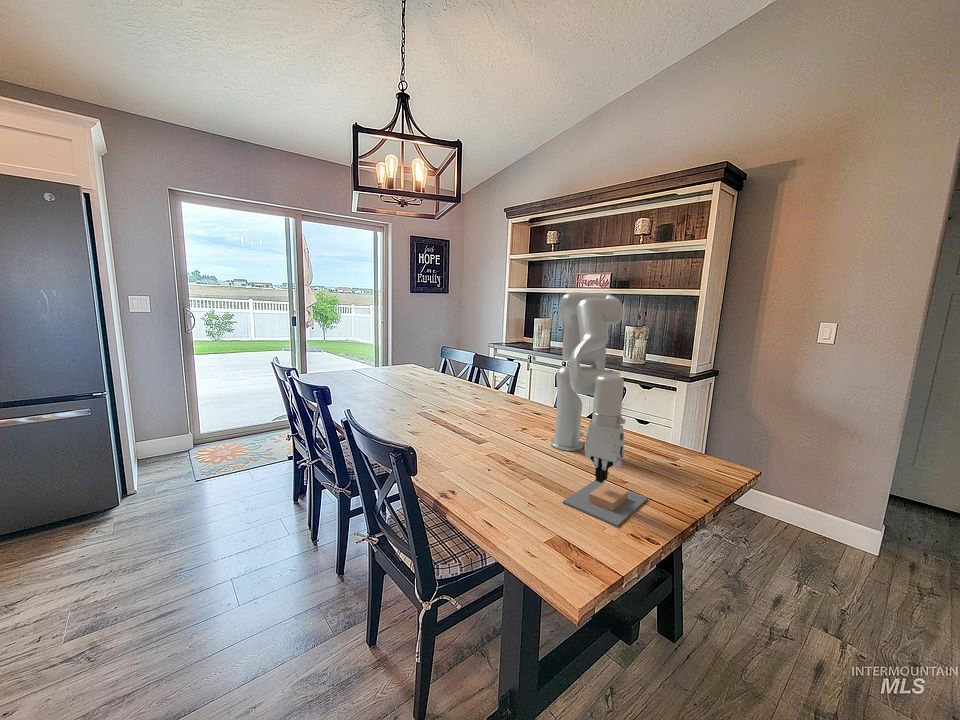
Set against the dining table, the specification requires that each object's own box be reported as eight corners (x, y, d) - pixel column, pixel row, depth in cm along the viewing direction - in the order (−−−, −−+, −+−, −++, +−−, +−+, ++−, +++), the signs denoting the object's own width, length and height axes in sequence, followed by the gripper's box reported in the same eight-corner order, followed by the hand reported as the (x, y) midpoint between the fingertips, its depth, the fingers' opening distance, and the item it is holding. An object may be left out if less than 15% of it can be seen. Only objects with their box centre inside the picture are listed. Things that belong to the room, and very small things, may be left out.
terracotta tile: (605, 482, 117) (628, 490, 112) (604, 489, 117) (627, 498, 112) (589, 493, 110) (613, 503, 105) (588, 501, 110) (612, 511, 105)
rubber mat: (596, 480, 124) (596, 478, 124) (647, 499, 113) (647, 497, 113) (562, 503, 110) (562, 501, 110) (617, 527, 99) (617, 524, 99)
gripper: (638, 422, 107) (631, 485, 110) (588, 410, 117) (583, 468, 120) (626, 428, 101) (620, 494, 104) (575, 415, 112) (570, 475, 114)
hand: (600, 480), depth 112 cm, fingers closed
